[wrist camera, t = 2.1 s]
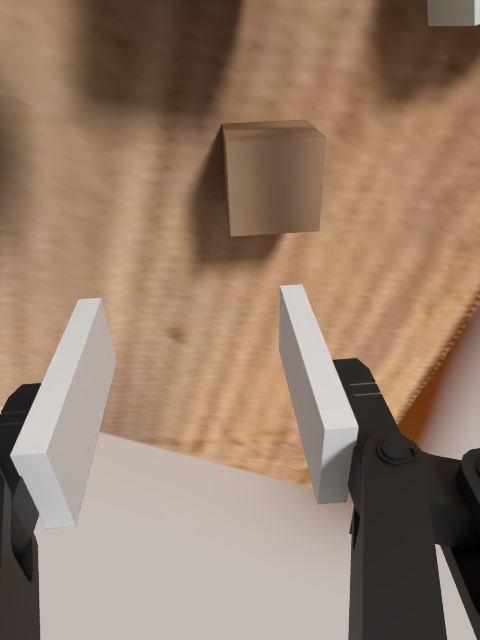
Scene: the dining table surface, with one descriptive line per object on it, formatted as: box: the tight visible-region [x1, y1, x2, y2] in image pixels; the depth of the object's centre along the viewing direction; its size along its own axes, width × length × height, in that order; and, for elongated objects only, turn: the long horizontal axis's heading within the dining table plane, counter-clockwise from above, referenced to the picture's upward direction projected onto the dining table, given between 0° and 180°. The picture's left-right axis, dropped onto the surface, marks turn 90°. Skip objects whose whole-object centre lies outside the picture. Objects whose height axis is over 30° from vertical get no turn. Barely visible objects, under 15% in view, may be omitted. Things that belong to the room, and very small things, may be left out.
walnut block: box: [222, 120, 326, 237], centre depth 31 cm, size 6×6×6 cm
